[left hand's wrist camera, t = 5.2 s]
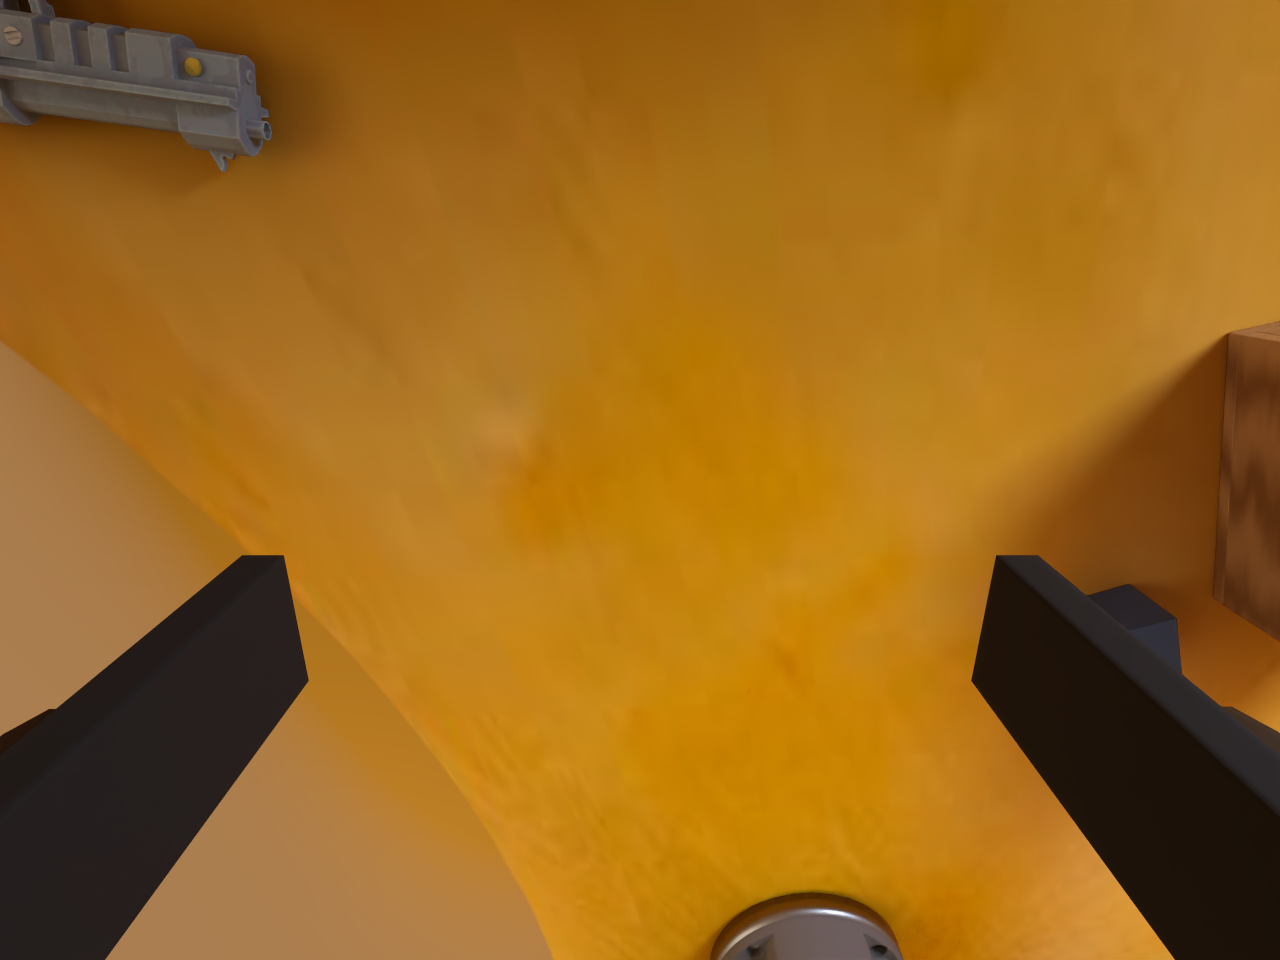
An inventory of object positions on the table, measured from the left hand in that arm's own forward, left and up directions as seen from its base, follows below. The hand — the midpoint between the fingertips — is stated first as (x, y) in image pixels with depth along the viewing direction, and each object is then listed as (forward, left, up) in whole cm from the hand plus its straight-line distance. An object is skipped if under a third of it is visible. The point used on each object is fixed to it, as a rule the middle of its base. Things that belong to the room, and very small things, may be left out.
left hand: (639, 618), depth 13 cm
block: (-17, -30, -28) cm, 45 cm away
